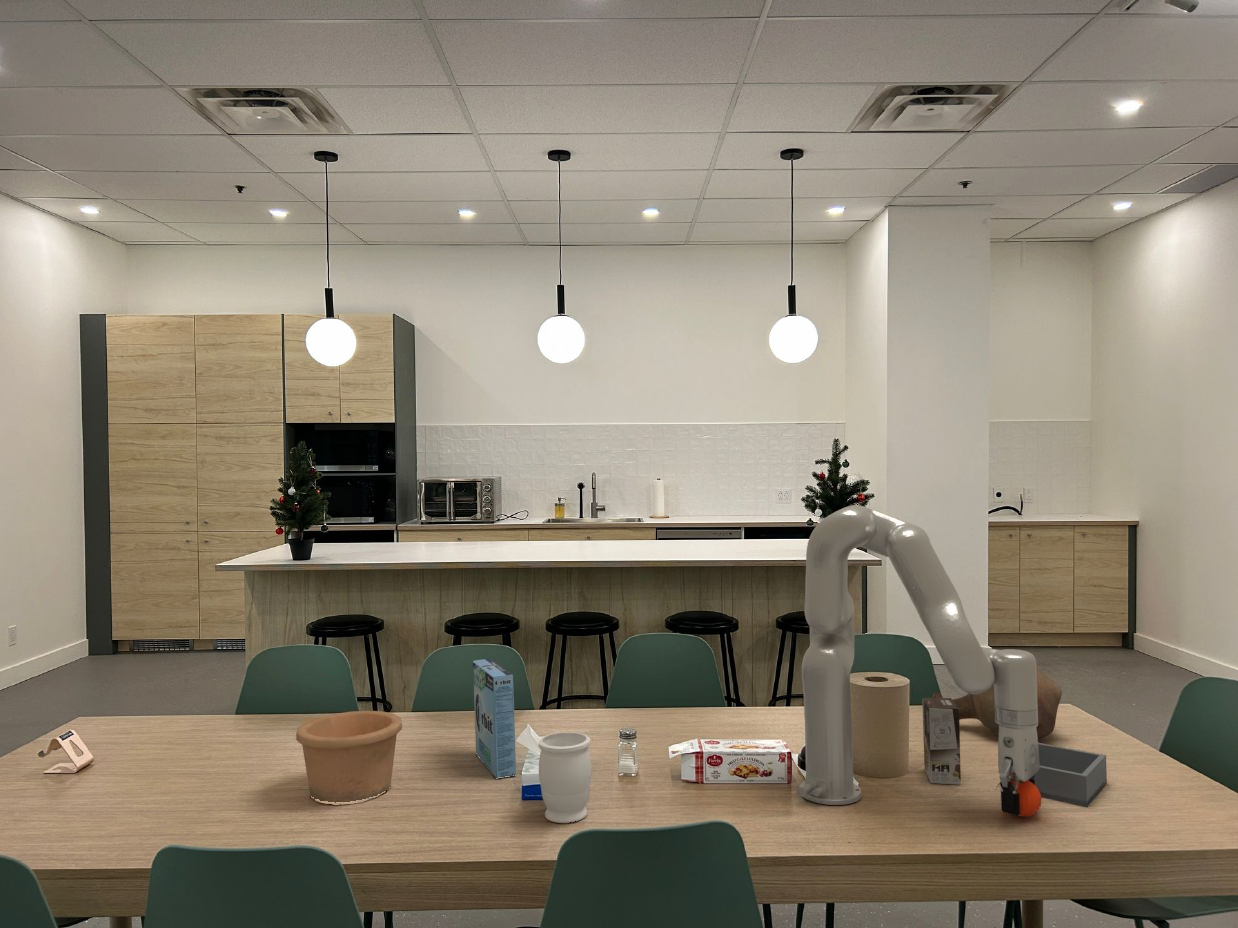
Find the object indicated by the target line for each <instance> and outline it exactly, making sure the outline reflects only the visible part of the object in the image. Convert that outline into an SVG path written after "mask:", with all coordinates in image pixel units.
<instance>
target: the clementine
mask: <svg viewBox="0 0 1238 928" xmlns="http://www.w3.org/2000/svg"><path fill="white" fill-rule="evenodd" d="M1009 782H1011V783H1012V785H1013V786H1014V781H1011V780H1009ZM999 785H1000V782H999V783H998V784H997V785H996V787H995V789H997V788H998V786H999ZM1017 793H1019V794H1020V814H1019V815H1018V817H1021V818H1022V817H1023V818H1024V817H1030V816H1033V815H1035V814H1036V813H1037V812H1038V811H1040V809H1041V806H1042V797H1041V794H1040V792H1039V790H1038V788H1037V787H1036V786H1035V785H1034V784H1033V783H1032V782H1030V781H1029V780H1028V781H1026V782H1022V780H1020V781H1019V786H1018V792H1017Z"/></svg>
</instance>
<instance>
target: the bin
mask: <svg viewBox="0 0 1238 928" xmlns="http://www.w3.org/2000/svg"><path fill="white" fill-rule="evenodd" d="M1038 748H1039V762H1040V768H1039V770H1038V772H1037V773H1036V774H1035V778H1034V779H1035V786H1036V787H1037V788H1038V790H1039V792H1040V794H1041V798H1042V799H1043V798H1045V799H1049V800H1053V801H1057V802H1062V803H1066V804H1070V805H1074V806H1075V805H1076V806H1080V807H1085V808H1088V807H1089V806H1090V805H1091V803H1092V802H1093V801H1094V800H1095V798H1097V796H1098V795H1099V794H1100V793H1101V791H1102V790H1103V789H1104V788H1105V787H1106V785H1107V784H1108V778H1107V777H1108V775H1107V754H1103V753H1099V752H1097V753H1096V752H1091V751H1086V750H1082V749H1081V750H1080V749H1074V748H1071V747H1070V748H1069V747H1065V746H1064V747H1063V746H1060V745H1052V744H1048V743H1042V742H1041V743H1040V742H1038ZM1009 775H1011V776H1016V775H1013V774H1009Z"/></svg>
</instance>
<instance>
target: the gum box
mask: <svg viewBox="0 0 1238 928" xmlns="http://www.w3.org/2000/svg"><path fill="white" fill-rule="evenodd" d="M472 668H473V670H472V672H473V674H472V675H473V696H474V697H473V702H474V704H473V705H474V731H475V754H476V753H477V755H478V756H479V757H480V759H481V760H482V761H483V762H482V761H481V760H480V759H479V760H480V761H481V762H482V764H483V763H484V764H485V765H486V766H487V767H486V766H485V765H484V764H483V765H484V766H485V767H486V768H487V770H488V769H489V770H490V771H491V772H492V773H491V772H490V771H489V770H488V771H489V772H490V773H491V775H492V774H493V775H494V776H495V777H496V778H498V777H505V776H513V775H514V777H516V776H517V760H516V758H517V753H516V728H515V726H516V722H515V721H516V720H515V698H514V694H515V693H514V692H515V691H514V674H513V673H511V672H510V671H508V670H507V669H505V668H504V667H502V666H501V665H500V664H499V663H497V662H496V661H494V660H493V659H492V658H483V659H477V660H473V661H472ZM477 755H476V756H477ZM478 756H477V757H478ZM479 757H478V758H479ZM493 775H492V776H493ZM515 775H516V776H515ZM494 776H493V777H494ZM495 777H494V778H495ZM496 778H495V779H496Z"/></svg>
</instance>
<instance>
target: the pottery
mask: <svg viewBox="0 0 1238 928" xmlns="http://www.w3.org/2000/svg"><path fill="white" fill-rule="evenodd" d="M402 730H403V722H402V718H401V716H399V715H397V714H396V713H392V712H386V711H381V710H356V711H346V712H338V713H331V714H328V715H324V716H323V715H322V716H320V717H316V718H313V719H311V720H309V721H306V722H304V723H303V724H301V725H300V726H298V727H297V729H296V734H295V739H296V741H297V742H298V743H299V744H300V745H301V746H302V751H303V759H304V764H305V769H306V776H307V782H308V788H309V794H310V795H311V796H312V797H314V799H319V800H320V801H328V802H335V803H336V802H350V801H356V800H362V799H366V798H369V797H373V796H377V795H378V794H381V793H382V792H384V791H386V790H387V789H388V788H389V787H390V786H391V787H392V778H393V777H392V776H393V768H394V760H395V754H396V753H395V752H396V751H395V750H396V743H397V735H398V734H399V732H401V731H402ZM391 787H390V788H391ZM310 795H309V796H310Z"/></svg>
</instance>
